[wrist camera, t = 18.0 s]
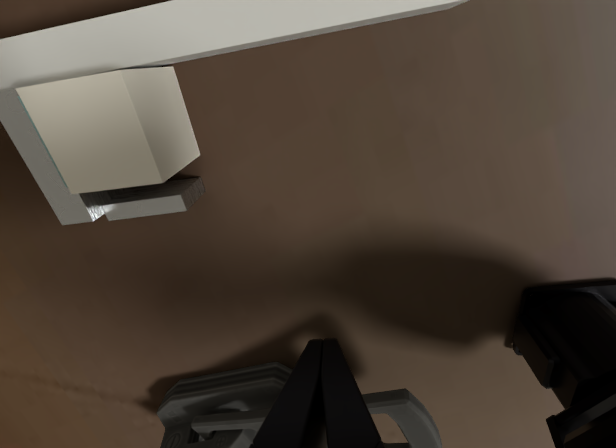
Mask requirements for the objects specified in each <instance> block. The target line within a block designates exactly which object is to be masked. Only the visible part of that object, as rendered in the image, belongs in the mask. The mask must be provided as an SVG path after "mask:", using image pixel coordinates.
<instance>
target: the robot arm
mask: <svg viewBox="0 0 616 448" xmlns="http://www.w3.org/2000/svg"><path fill="white" fill-rule="evenodd" d="M532 294H533V295H532ZM530 295H531V296H530ZM513 341H514V342H513V350H514V352H515V353H516V354H517V355H523V357H524V359H525V360H526V362H527V363H528V365H529V366H530V368H531V370H532V371H533V373H534V374H535V376H536V377H537V379H538V381H539V382H540V384H541V385H542V386H543V387H545V388H546V389H550V388H551V389H552V390H553V392H554V393H555V395H556V396H557V398H558V399H559V401H560V402H561V404H562V405H563V407H564V408H565V410H563V411H562V412H560V413H559V414H557V415H552V416H550V417H548V418H547V419H546V422H547V425H548V427H549V430H550V433H551V436H552V439H553V442H554V444H555V447H556V448H616V281H609V282H596V283H583V284H571V285H558V286H545V287H533V288H528V289H526V290H525V291H524V292H523V294H522V300H521V305H520V310H519V314H518V316H517V318H516V324H515V329H514V335H513ZM249 448H385V446H384V444H383V442H382V441H381V437H380V435H379V433H378V430H377V428H376V426H375V424H374V421H373V419H372V417H371V415H370V412H369V410H368V408H367V406H366V403H365V401H364V399H363V397H362V394H361V392H360V390H359V388H358V385H357V383H356V381H355V379H354V376H353V374H352V372H351V370H350V368H349V365H348V363H347V361H346V359H345V356H344V354H343V352H342V350H341V347H340V345H339V343H338V341H337V339H336V338H327V339H324V340H322V339H312V340H310V341H309V342H308V344H307V346H306V347H305V349H304V351H303V353H302V354H301V356H300V358H299V360H298V361H297V363H296V365H295V367H294V368H293V370H292V372H291V374H290V376H289V377H288V379H287V381H286V383H285V384H284V386H283V388H282V390H281V391H280V393H279V395H278V397H277V399H276V400H275V402H274V404H273V406H272V407H271V409H270V411H269V413H268V414H267V416H266V418H265V420H264V422H263V423H262V425H261V427H260V429H259V430H258V432H257V434H256V436H255V437H254V439H253V444H250V446H249Z"/></svg>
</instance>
